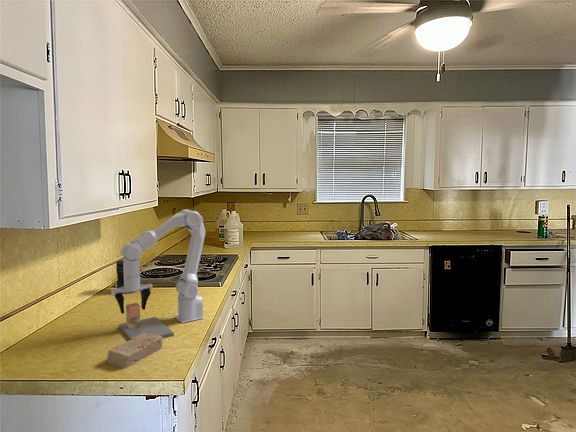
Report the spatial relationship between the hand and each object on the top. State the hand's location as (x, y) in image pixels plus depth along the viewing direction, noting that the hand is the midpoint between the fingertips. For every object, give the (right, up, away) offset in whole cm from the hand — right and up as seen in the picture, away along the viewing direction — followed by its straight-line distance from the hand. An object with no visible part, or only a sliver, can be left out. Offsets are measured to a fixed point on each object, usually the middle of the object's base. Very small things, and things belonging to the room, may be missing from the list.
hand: (133, 310), depth 156 cm
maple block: (0, -6, +1) cm, 6 cm away
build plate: (+5, -7, -2) cm, 9 cm away
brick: (+9, -10, -22) cm, 26 cm away
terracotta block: (0, -2, 0) cm, 2 cm away
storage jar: (-21, -2, +50) cm, 55 cm away
